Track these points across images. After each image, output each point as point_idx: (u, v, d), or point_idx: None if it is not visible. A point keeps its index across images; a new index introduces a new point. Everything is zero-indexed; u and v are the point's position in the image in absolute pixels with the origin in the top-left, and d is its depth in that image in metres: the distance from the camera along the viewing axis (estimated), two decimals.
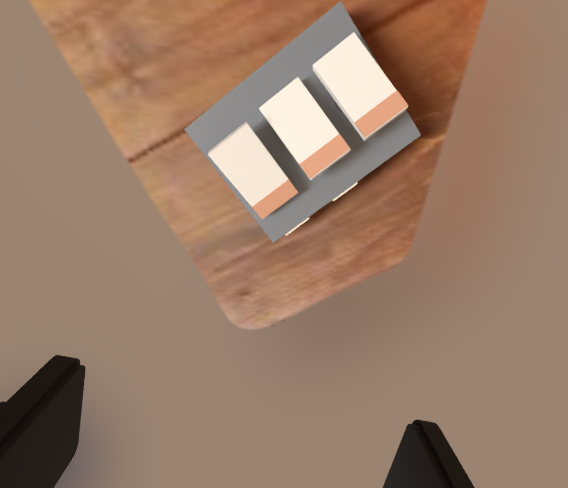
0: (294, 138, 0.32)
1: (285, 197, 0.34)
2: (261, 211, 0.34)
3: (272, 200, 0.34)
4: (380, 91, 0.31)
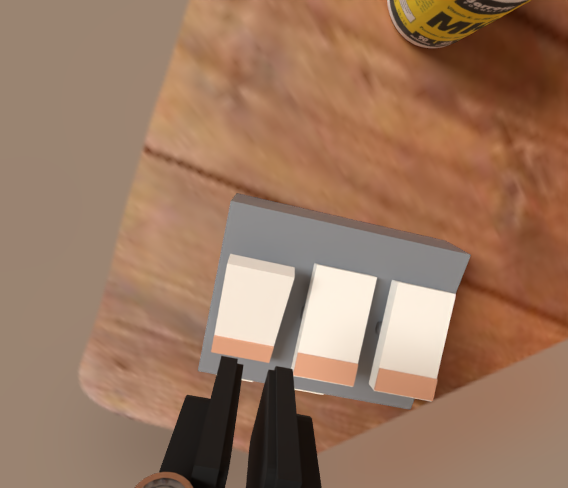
0: (318, 325, 0.25)
1: (254, 356, 0.26)
2: (218, 347, 0.26)
3: (239, 348, 0.26)
4: (424, 365, 0.25)
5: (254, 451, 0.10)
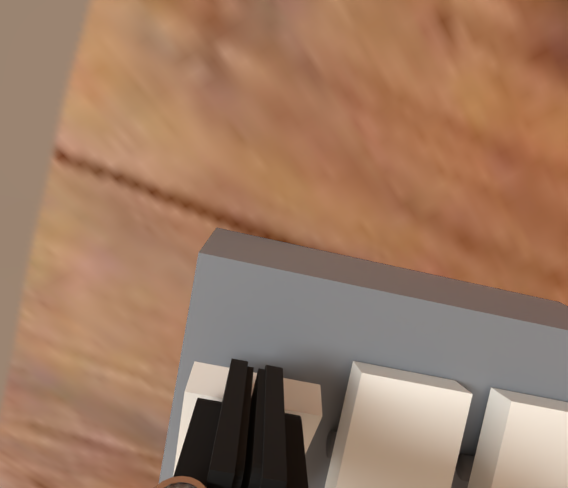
0: (363, 485, 0.13)
1: None
2: None
3: None
4: None
5: None
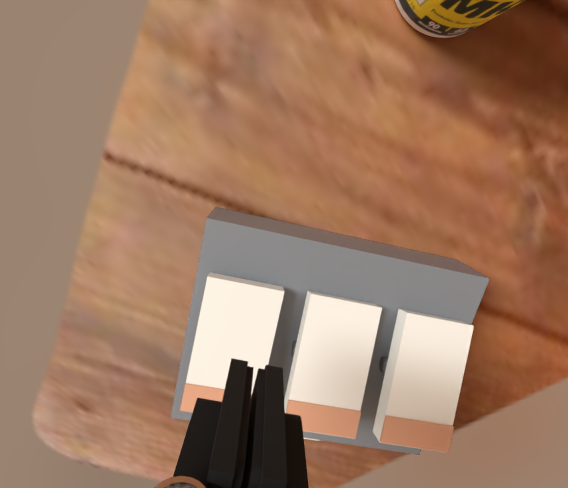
0: (312, 366, 0.21)
1: None
2: (189, 401, 0.20)
3: (217, 400, 0.20)
4: (438, 410, 0.22)
5: None
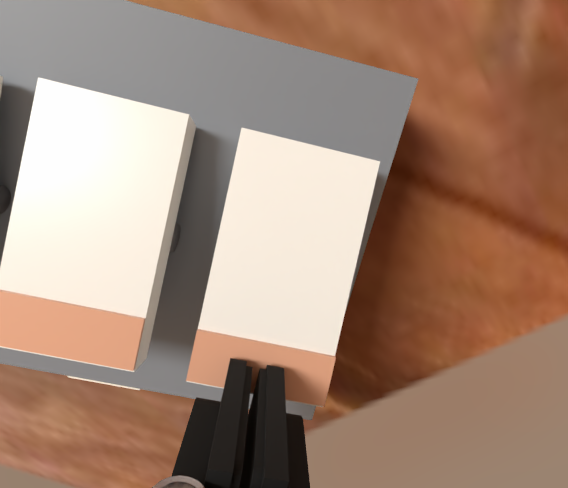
0: (45, 225, 0.10)
1: None
2: None
3: None
4: (306, 324, 0.11)
5: (244, 450, 0.10)
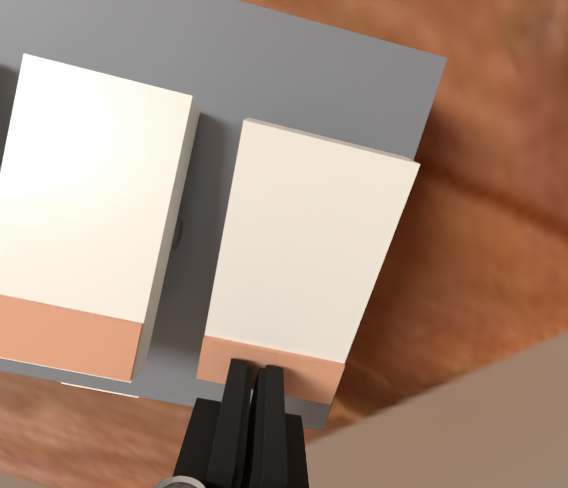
0: (31, 219, 0.09)
1: None
2: None
3: None
4: (316, 335, 0.11)
5: None
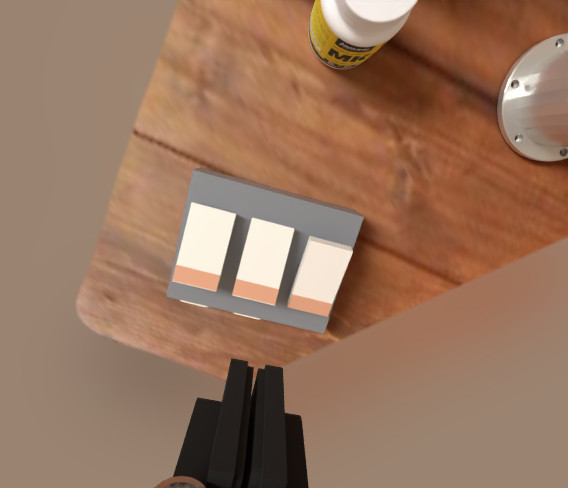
0: (251, 260, 0.35)
1: (204, 284, 0.35)
2: (178, 275, 0.35)
3: (194, 276, 0.35)
4: (324, 295, 0.37)
5: None
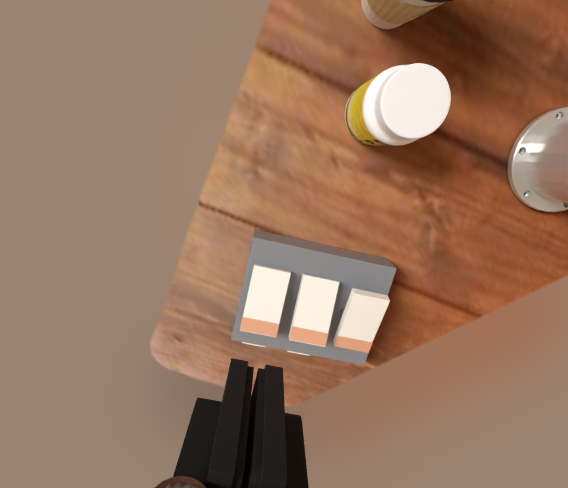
0: (304, 310, 0.42)
1: (266, 332, 0.42)
2: (244, 325, 0.42)
3: (258, 325, 0.42)
4: (365, 335, 0.43)
5: None
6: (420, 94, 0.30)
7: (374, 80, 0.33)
